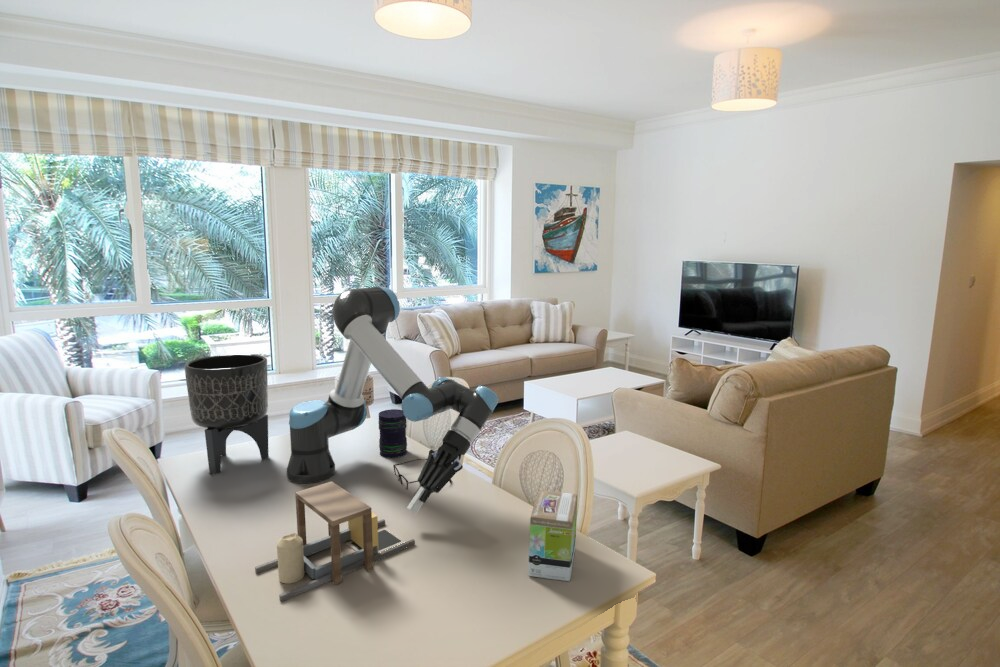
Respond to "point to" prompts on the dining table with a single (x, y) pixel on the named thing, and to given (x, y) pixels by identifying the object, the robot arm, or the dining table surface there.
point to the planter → (229, 401)
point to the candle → (290, 558)
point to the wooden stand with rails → (335, 531)
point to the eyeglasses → (403, 476)
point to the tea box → (552, 535)
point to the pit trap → (381, 541)
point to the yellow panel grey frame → (351, 533)
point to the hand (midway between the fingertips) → (411, 510)
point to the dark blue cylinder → (392, 433)
